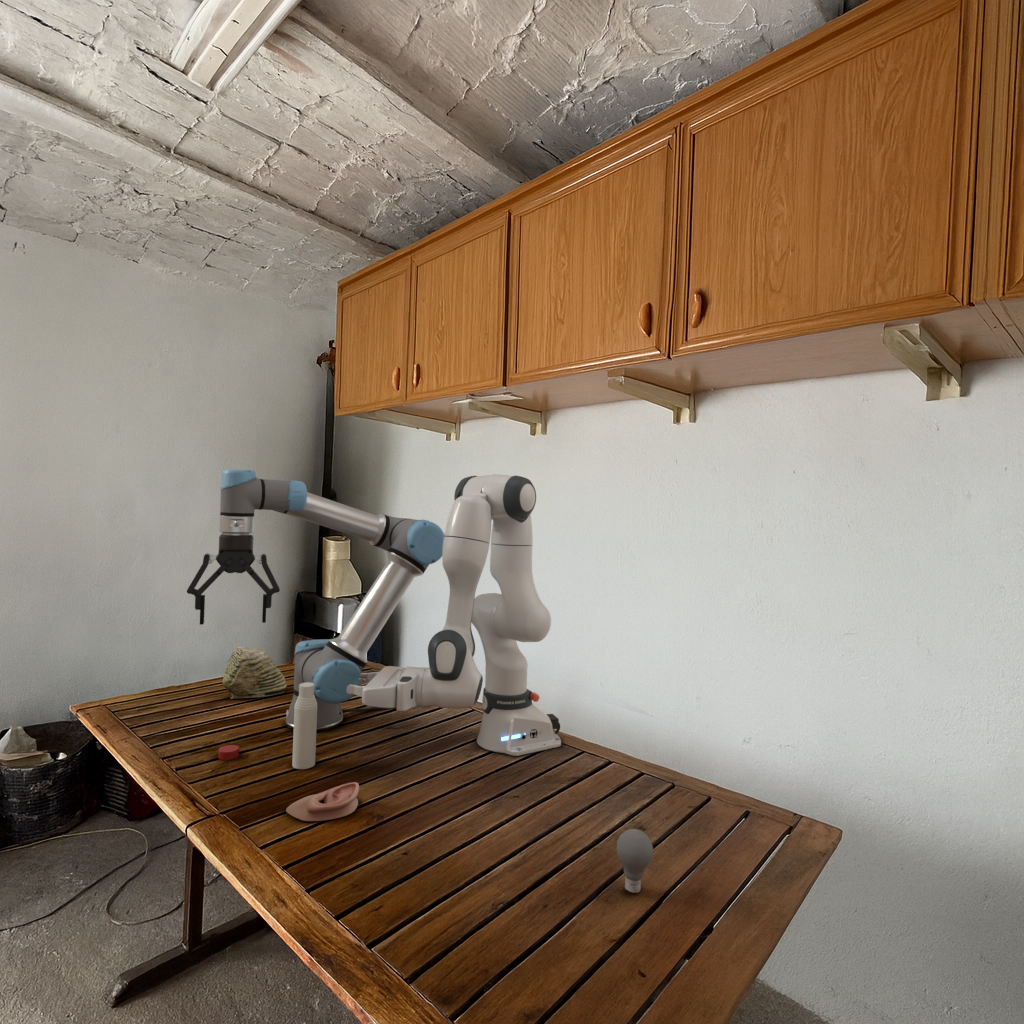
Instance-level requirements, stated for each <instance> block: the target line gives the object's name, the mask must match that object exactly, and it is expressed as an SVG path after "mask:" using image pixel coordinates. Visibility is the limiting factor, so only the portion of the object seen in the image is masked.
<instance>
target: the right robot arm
mask: <svg viewBox="0 0 1024 1024" xmlns="http://www.w3.org/2000/svg"><path fill="white" fill-rule="evenodd" d="M453 500H454V501H453V503H452V506H451V508H450V512H449V515H448V518H447V521H446V525H445V528H444V529H445V530H444V540H443V548H442V557H441V559H442V560H441V561H442V568H443V570H444V572H445V574H446V578H447V580H448V584H449V597H448V605H447V612H446V618H445V619H446V620H445V624H444V627H442V630H440V631H438V632H437V633H435V634H434V635H433V636H432V637H431V638H430V640H429V642H428V646H427V658H428V666H429V667H423V666H422V667H421V666H406V667H405V666H404V667H402V666H394V665H387V666H383V667H382V669H380V670H379V671H372V672H361V674H360V675H359V681H360V682H361V683H367V682H368V683H367V684H366V685H362V686H361V685H360V686H356V684H349V685H348V686H347V693H348V694H355V695H354V696H357V697H360V698H361V703H362V705H365V706H367V707H380V708H383V709H394V708H395V709H396V711H397V712H406V711H408V710H410V709H412V708H417V707H421V708H426V707H431V706H432V707H438V708H440V709H452V710H453V709H454V710H455V709H456V710H457V709H468V708H472V707H473V706H475V704H477V702H478V700H479V698H480V695H481V691H482V688H483V683H484V682H485V683H484V688H483V691H482V692H483V693H482V699H481V701H482V702H481V705H482V717H481V723H480V728H479V731H478V735H477V737H476V744H477V745H478V746H479V747H481V748H482V749H484V750H487V751H490V752H496V753H501V754H505V755H509V756H513V757H517V756H518V757H519V756H523V755H527V754H533V753H537V752H542V751H545V750H551V749H554V748H559V747H561V746H562V740H561V737H560V736H559V732H560V730H561V724H560V722H559V718H558V717H557V716H556V715H555V714H554V713H545V712H544V711H543V710H541V708H539V707H538V706H537V705H535V704H534V703H537V702H539V700H540V699H541V697H540V695H539V694H538V693H536V692H535V691H531V690H530V689H528V688H527V687H528V669H529V668H528V667H529V666H528V665H529V664H528V660H527V658H526V656H525V655H524V654H523V652H522V650H521V649H520V647H519V644H518V642H519V643H520V642H521V643H539V642H542V641H543V640H544V639H545V638H546V637H547V636H548V634H549V632H550V630H551V627H552V617H551V613H550V611H549V609H548V607H547V606H546V605H545V604H544V603H543V601H542V600H541V598H540V596H539V593H538V591H537V588H536V583H535V581H534V574H533V545H534V544H533V543H534V542H533V541H534V540H533V523H532V516H531V514H532V513H533V511H534V509H535V506H536V503H537V491H536V488H535V486H534V485H533V482H532V481H531V479H529V478H527V477H524V476H520V475H508V474H488V475H486V474H485V475H470V476H466V477H464V478H462V479H461V480H460V481H459V482H458V484H457V486H456V488H455V490H454V499H453ZM489 549H490V555H489V556H490V557H489V558H490V559H489V572H490V575H491V577H492V578H493V579H494V580H495V581H496V583H497V584H498V587H499V589H500V593H497V592H488V593H481V594H478V595H477V596H476V591H477V588H478V585H479V582H480V580H481V577H482V574H483V570H484V568H485V565H486V562H487V558H488V554H489ZM472 625H473V626H474V628H475V630H476V631H477V633H478V636H479V639H480V642H481V645H482V648H483V653H484V660H485V675H484V677H485V678H484V677H483V675H482V673H481V672H480V670H479V668H478V667H477V664H476V662H475V660H474V659H475V658H474V656H475V653H476V642H475V638H474V635H473V630H472ZM484 679H485V680H484ZM533 702H534V703H533ZM554 730H555V731H554Z"/></svg>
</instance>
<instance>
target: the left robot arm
mask: <svg viewBox="0 0 1024 1024" xmlns="http://www.w3.org/2000/svg"><path fill="white" fill-rule="evenodd" d="M220 483H221V484H220V488H219V490H220V501H219V502H220V503H219V505H220V506H219V507H220V508H219V532H220V533H221V534H219V537H218V553H217V554H210V553H205V554H204V555H203V558H202V564H201V566H200V567H199V569H198V570H197V571H196V574H195V575H194V577H193V579H192V581H191V583H190V584H189V586H188V588H187V589H186V593H187V594H189V595H192V596H194V609H195V611H199V625H200V626H201V625H204V624H205V607H206V605H205V604H206V595H205V594H203V593H204V592H205V591H206V590H207V589H209V587H210V586H211V585H212V584H213V583H214V582H215V581H216V580H217V579H218V578H219V577H220V576H221V575H222V574H223V573H224V572H225V573H226V574H234V573H236V574H243V573H245V572H246V573H247V574H248V575H249V576H250V577H251V578H252V579H253V581H254V582H255V583H256V584H257V585H258V587H260V588H261V590H262V591H263V592H264V593H263V594H262V611H261V612H262V615H261V616H262V617H261V623H266V622H267V609H271V608H272V600H273V599H272V597H273V595H275V594H277V593H279V592H280V591H281V589H280V587H279V583H278V582H277V580H276V577H275V576H274V575H273V572H272V570H271V568H270V566H269V564H268V560H267V555H266V553H261V554H257V555H255V554H254V536H253V533H254V531H255V510H259V511H263V510H265V511H266V510H268V511H274V512H277V513H280V514H284V515H287V516H290V517H293V518H297V519H300V520H303V521H305V522H309V523H312V524H315V525H319V526H322V527H324V528H327V529H331V530H335V531H337V532H341V533H344V534H346V535H350V536H353V537H356V538H359V539H362V540H366V541H368V543H369V544H370V545H371V546H374V547H376V548H380V549H382V550H384V551H385V552H386V557H387V562H386V563H385V564H384V566H383V568H382V569H381V571H380V573H378V575H377V577H376V579H375V580H374V581H373V583H372V584H371V586H370V588H369V589H368V591H367V592H366V594H365V596H364V597H363V599H362V600H361V602H359V605H358V606H357V608H356V609H355V611H354V612H353V614H352V615H351V617H350V619H349V620H348V621H347V623H346V625H345V626H344V627H343V629H342V631H341V632H340V634H339V635H338V636H336V637H334V638H329V639H328V638H326V639H325V638H324V639H307V640H302V641H299V642H297V644H295V650H294V655H293V656H294V672H293V673H294V674H293V695H292V696H293V697H292V699H291V702H290V704H289V708H288V709H286V712H285V714H286V715H285V726H286V728H287V729H289V730H291V731H293V730H294V706H295V703H296V701H297V698H298V696H299V684H301V683H306V682H310V683H314V684H315V687H314V695H315V698H316V702H317V729H316V733H317V732H325V731H329V730H332V729H335V728H337V727H339V726H340V725H342V723H343V722H344V714H343V713H350V712H353V713H354V712H355V713H356V712H369V711H376V710H383V709H384V708H380V707H372V706H370V707H364V708H342V706H341V704H342V703H345V702H347V701H349V700H351V699H352V698H354V696H356V695H355V694H348V693H347V686H348V685H349V684H356V686H361V685H362V682H360V681H359V675H360V674H361V673H363V670H364V668H365V667H366V666H367V664H368V657H367V653H368V651H369V650H370V648H371V647H372V645H373V644H374V643H375V640H376V639H377V638H378V635H379V634H380V633H381V631H382V630H383V628H384V626H385V625H386V624H387V621H388V620H389V619H390V617H391V615H392V614H393V612H394V611H395V609H396V607H397V606H398V604H399V603H400V601H401V599H402V598H403V596H404V595H405V593H406V591H408V589H409V587H410V585H411V584H412V582H413V581H414V579H415V578H417V577H420V576H421V577H422V576H423V575H424V573H426V570H427V569H428V567H429V566H430V565H433V564H435V563H437V562H438V561H439V560H440V559H442V548H443V540H444V534H445V532H444V531H443V529H442V528H441V527H440V526H439V525H438V524H436V523H435V522H433V521H430V520H427V519H416V518H415V519H414V518H405V517H397V516H396V517H395V516H390V515H387V514H385V513H380V514H373V513H370V512H367V511H365V510H362V509H359V508H356V507H354V506H353V507H352V506H349V505H347V504H343V503H341V502H337V501H335V500H332V499H329V498H326V497H323V496H321V495H318V494H314V493H311V492H308V489H307V485H306V484H305V482H303V481H301V480H295V479H294V480H293V479H265V478H257V474H256V471H255V470H254V469H253V470H252V469H242V468H241V469H239V468H238V469H237V468H226V469H224V470H223V471H222V473H221V482H220ZM214 561H216V562H217V563H218V565H219V567H218V568H217V569H216V570H215V571H214V572H213V573H212V574H211V576H209V577H208V579H206V581H205V582H203V583H202V585H201V586H199V587H198V589H197V588H196V587H197V585H198V584H199V581H200V580H201V578H202V577H203V575H204V573H205V571H206V570H207V568H208V566H209V565H210V564H212V563H213V562H214ZM255 561H257V563H258V565H259V564H260V565H261V567H262V569H263V571H264V573H265V575H266V576H267V578H268V580H269V583H270V585H271V586H272V588H270V587H269V586H268V585H267V583H266V582H265V581H264V580H263V579H262V578H261V577H260V575H259V574H258V573H257V571H255V570H254V568H252V566H251V565H252V564H253V563H254V562H255Z"/></svg>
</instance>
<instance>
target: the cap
mask: <svg viewBox="0 0 1024 1024" xmlns="http://www.w3.org/2000/svg"><path fill="white" fill-rule="evenodd" d="M217 752H218V753H217V758H218V760H222V761H230V760H235V759H237V758H238V757H239V756H240V746H239V745H236V744H227V745H223V746H220V747H219V748H218V751H217Z"/></svg>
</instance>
